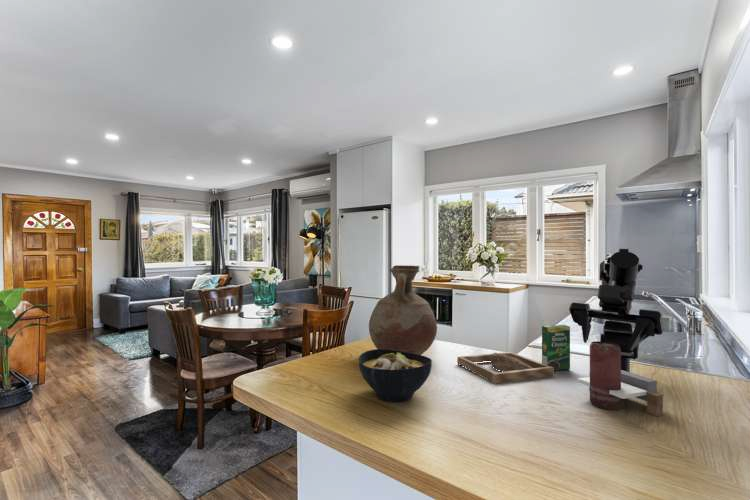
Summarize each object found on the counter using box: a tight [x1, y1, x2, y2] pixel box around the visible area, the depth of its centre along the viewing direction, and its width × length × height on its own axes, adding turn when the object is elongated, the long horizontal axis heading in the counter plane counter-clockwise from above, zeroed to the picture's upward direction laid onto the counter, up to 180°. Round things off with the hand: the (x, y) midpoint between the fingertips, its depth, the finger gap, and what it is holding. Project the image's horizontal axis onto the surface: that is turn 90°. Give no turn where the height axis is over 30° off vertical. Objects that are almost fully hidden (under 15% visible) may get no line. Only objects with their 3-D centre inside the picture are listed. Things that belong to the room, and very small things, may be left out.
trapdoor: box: [577, 370, 658, 402], centre depth 87 cm, size 12×12×4 cm
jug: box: [368, 264, 438, 356], centre depth 118 cm, size 22×22×30 cm
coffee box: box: [541, 324, 571, 371], centre depth 112 cm, size 8×3×13 cm, turn 101°
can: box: [589, 340, 622, 411], centre depth 85 cm, size 6×6×14 cm
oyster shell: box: [490, 352, 533, 372], centre depth 111 cm, size 10×12×5 cm
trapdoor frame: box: [588, 386, 664, 417], centre depth 87 cm, size 2×16×4 cm, turn 21°
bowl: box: [358, 348, 433, 403], centre depth 88 cm, size 17×17×10 cm
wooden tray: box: [456, 351, 555, 384], centre depth 109 cm, size 20×17×2 cm
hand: (606, 345), depth 86 cm, fingers open, 9 cm apart
